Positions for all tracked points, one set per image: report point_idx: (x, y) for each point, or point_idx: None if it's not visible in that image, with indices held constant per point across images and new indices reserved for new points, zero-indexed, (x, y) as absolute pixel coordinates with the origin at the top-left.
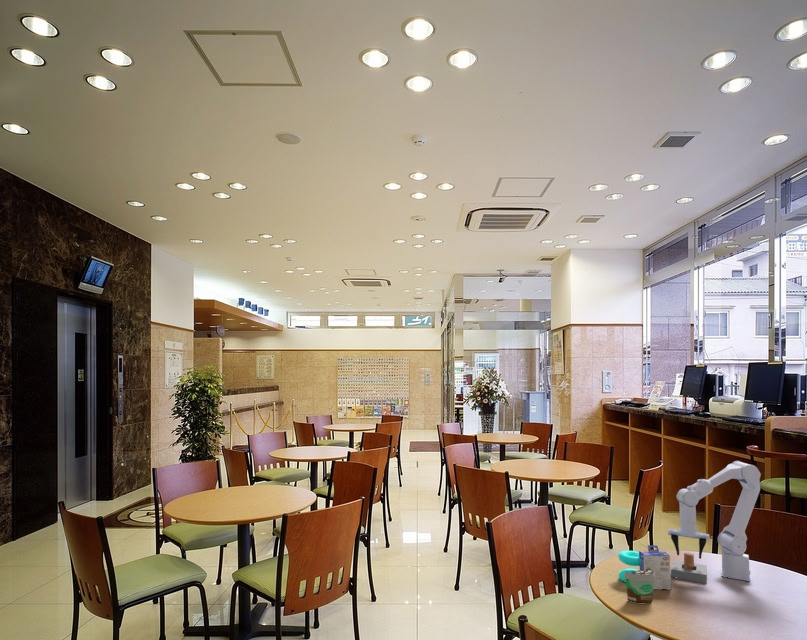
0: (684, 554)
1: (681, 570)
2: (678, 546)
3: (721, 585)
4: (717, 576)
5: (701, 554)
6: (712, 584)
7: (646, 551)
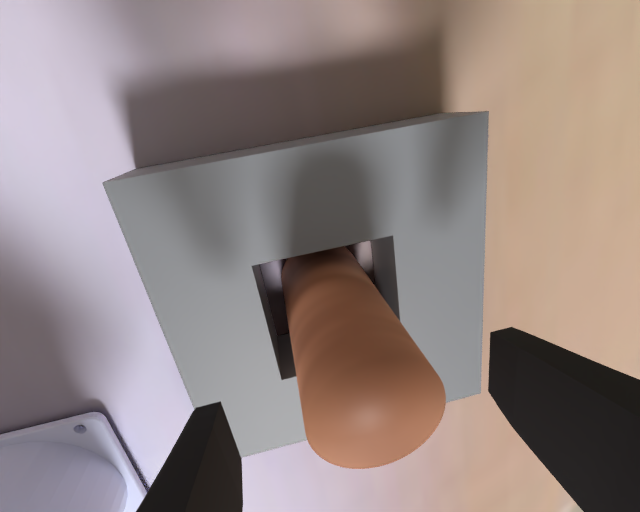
0: (432, 369)
1: (386, 148)
2: (590, 480)
3: (2, 206)
4: (134, 400)
5: (162, 470)
6: (80, 174)
7: None
